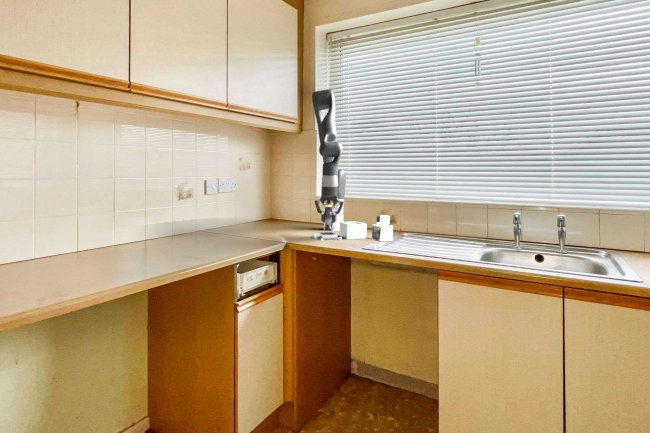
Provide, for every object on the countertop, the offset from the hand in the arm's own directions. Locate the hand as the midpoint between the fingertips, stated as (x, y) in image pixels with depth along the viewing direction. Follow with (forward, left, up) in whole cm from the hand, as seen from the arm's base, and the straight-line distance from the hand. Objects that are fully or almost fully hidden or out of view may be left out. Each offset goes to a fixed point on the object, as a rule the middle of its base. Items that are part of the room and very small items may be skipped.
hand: (328, 222), depth 177 cm
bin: (0, +13, -8) cm, 15 cm away
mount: (0, 0, -8) cm, 8 cm away
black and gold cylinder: (0, 0, -4) cm, 4 cm away
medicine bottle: (+4, +27, -9) cm, 28 cm away
